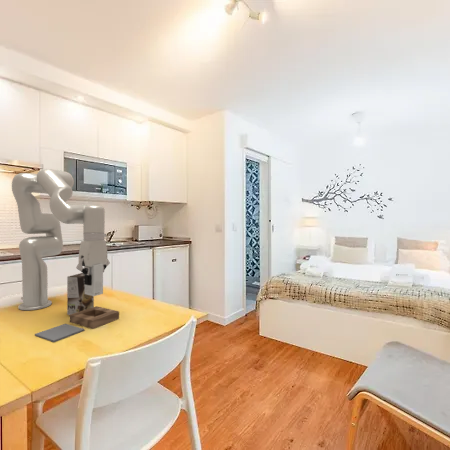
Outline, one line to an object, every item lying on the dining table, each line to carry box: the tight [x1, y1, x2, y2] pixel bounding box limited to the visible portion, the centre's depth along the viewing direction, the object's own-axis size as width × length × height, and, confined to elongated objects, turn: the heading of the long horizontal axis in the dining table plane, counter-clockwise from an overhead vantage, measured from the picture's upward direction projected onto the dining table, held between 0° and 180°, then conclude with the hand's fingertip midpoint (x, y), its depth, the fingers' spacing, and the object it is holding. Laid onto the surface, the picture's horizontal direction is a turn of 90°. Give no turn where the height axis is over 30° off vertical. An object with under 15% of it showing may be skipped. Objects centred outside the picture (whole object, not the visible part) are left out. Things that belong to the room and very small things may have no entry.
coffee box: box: [66, 272, 95, 316], centre depth 123 cm, size 9×6×16 cm
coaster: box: [34, 323, 85, 343], centre depth 101 cm, size 11×11×1 cm
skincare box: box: [85, 264, 104, 297], centre depth 113 cm, size 6×4×12 cm
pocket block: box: [69, 306, 120, 330], centre depth 113 cm, size 14×12×3 cm
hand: (93, 283), depth 113 cm, fingers closed on skincare box, 4 cm apart
